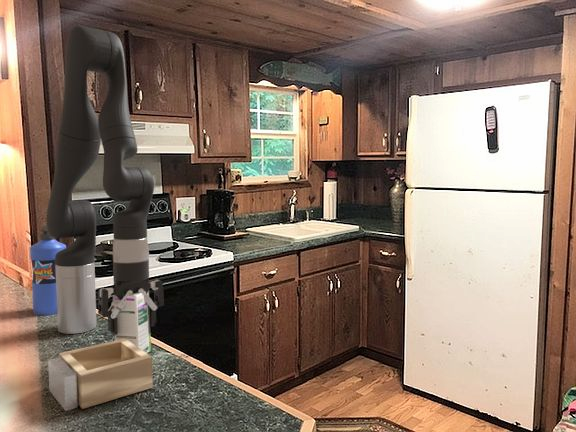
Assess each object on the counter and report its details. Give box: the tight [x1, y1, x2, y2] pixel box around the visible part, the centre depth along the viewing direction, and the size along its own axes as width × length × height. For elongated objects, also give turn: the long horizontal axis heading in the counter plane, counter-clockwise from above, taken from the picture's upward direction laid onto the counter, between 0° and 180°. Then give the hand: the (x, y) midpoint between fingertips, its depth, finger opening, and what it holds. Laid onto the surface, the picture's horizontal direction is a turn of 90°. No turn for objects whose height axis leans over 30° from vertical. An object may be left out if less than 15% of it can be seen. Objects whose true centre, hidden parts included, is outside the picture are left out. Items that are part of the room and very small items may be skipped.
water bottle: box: [29, 224, 67, 316], centre depth 140 cm, size 9×9×25 cm
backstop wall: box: [47, 356, 79, 412], centre depth 88 cm, size 10×2×6 cm, turn 41°
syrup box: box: [112, 290, 152, 354], centre depth 108 cm, size 6×6×14 cm
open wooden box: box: [58, 338, 154, 410], centre depth 93 cm, size 13×13×6 cm
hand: (132, 329), depth 108 cm, fingers closed on syrup box, 8 cm apart
